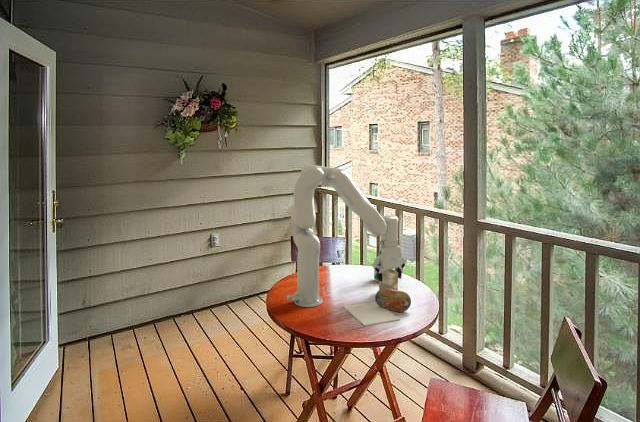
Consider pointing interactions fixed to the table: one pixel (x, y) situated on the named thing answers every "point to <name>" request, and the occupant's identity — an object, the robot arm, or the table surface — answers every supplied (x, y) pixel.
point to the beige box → (389, 279)
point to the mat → (370, 313)
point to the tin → (393, 300)
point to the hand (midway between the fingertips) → (389, 279)
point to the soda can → (375, 271)
